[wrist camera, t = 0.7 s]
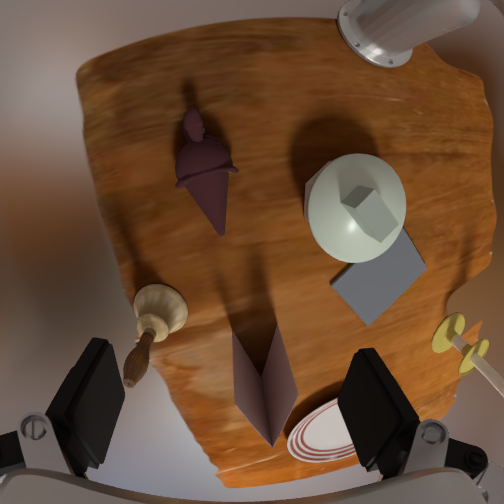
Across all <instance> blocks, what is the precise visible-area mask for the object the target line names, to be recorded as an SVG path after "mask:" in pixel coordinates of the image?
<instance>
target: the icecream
mask: <svg viewBox="0 0 504 504" xmlns="http://www.w3.org/2000/svg"><path fill="white" fill-rule="evenodd" d="M202 125H203V121H202V119H201V116H200V113H199V111H198V109H197V108H195V107H191V108H190V109H189V110H188V111H187V112H186V113H185V116H184V123H183V134H184V136H185V138H186V141H187V143H188V144H187V145H185V146H184V147H183V148H182V149H181V151H180V152H179V154H178V156H177V159H176V164H175V172H176V177H177V179H178V180H179V181H178V182H177V184H176V185H175V187H176V188H178V189H179V188H181V187H182V186H185V187H186V188H187V189H188V191H189V192H190V194H191V195H192V197H193V198H194V200H195V201H196V202H197V204H198V205H199V207H200V208H201V210H202V211H203V212H204V214H205V215H206V217H207V218H208V220H209V221H210V223H211V224H212V225H213V227H214V228H215V230H216V231H217V233H218V234H219V235H220V236H223V235H224V234H225V220H226V204H227V190H228V176H229V173H230V172H234V173H238V171H239V170H238V169H237V168H235V167H234V166H233V164H232V159H231V158H230V156H229V154H228V150H227V149H226V148H223V147H222V145H221V144H219V142H218V139H217V138H216V137H214V136H212V135H203V134H204V133H205V129H204V127H203V126H202Z"/></svg>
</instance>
